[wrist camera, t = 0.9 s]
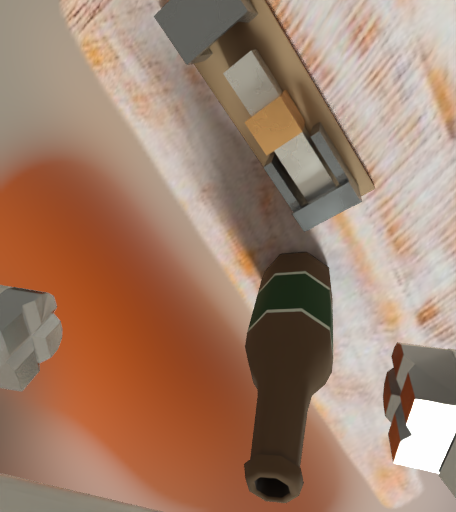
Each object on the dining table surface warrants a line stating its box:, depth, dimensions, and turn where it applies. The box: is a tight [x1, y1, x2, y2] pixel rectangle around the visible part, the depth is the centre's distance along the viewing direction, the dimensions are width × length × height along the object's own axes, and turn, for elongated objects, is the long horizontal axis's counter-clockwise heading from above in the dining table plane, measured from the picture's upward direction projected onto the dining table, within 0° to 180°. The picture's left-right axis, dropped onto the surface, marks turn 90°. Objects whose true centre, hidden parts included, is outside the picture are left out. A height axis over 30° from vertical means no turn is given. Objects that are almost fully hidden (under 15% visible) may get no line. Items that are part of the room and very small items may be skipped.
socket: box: [154, 0, 258, 65], centre depth 30 cm, size 6×4×5 cm
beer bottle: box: [244, 252, 333, 503], centre depth 34 cm, size 8×8×24 cm
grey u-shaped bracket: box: [263, 122, 362, 232], centre depth 35 cm, size 5×7×5 cm
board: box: [194, 0, 375, 196], centre depth 35 cm, size 8×23×1 cm, turn 38°
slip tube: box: [223, 49, 340, 202], centre depth 33 cm, size 3×14×5 cm, turn 38°
